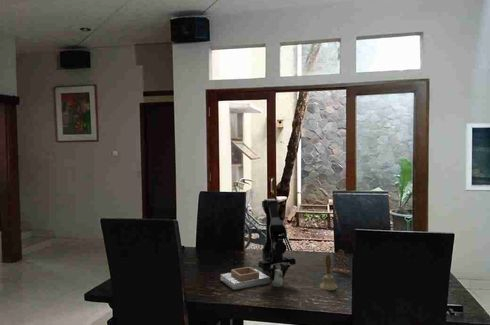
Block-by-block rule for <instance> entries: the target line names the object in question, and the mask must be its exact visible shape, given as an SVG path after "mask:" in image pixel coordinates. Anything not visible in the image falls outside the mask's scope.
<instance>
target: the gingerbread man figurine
mask: <svg viewBox="0 0 490 325" xmlns="http://www.w3.org/2000/svg"><path fill="white" fill-rule="evenodd" d="M333 257H334V258H335V260H337V264H336V265H335V267H334V268H332V270H331V272H332V273H338V274H345V275H348V274H350V273H351V270H349V269H348V268H347V266H346V265H345V264H349V259H348V257H347V256H345V251H344V250H343V249H339V250H338V251H337V252H334V253H333ZM337 257H338V258H337ZM343 258H345V259H346V260H345V259H343ZM339 264H340V265H339ZM338 265H339V267H338ZM343 266H344V267H343ZM349 272H350V273H349Z"/></svg>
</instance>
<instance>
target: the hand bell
mask: <svg viewBox="0 0 490 325" xmlns="http://www.w3.org/2000/svg"><path fill="white" fill-rule="evenodd" d="M331 266H332V259H331V256H330V254H327V255H326V257H325V267H326V275H324V276H323V281H322V283H321V284H320V286H319V288H320V289H322V290H324V291H336V290H338V285H337V284H336V282H335V279H334V276H333V275H331ZM335 289H336V290H335Z"/></svg>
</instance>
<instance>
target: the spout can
mask: <svg viewBox="0 0 490 325" xmlns="http://www.w3.org/2000/svg"><path fill="white" fill-rule="evenodd" d="M282 277H283V275H282V270H281V269H278V268H277V269H275V273H274V281H272V280H271V281H272V286H273V287H275V288H276V287H277V288H279V287H282V286H284V285H283V279H282Z"/></svg>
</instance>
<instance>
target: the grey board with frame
mask: <svg viewBox="0 0 490 325" xmlns="http://www.w3.org/2000/svg"><path fill="white" fill-rule="evenodd" d="M220 281H221V282H223V283H224V284H225V285H226V286H228V287H229V288H231V289H232V290H233V291H234V290H240V289H247V288H250V287H251V288H252V287H256V286H262V285H267V284H270V283H271V276H270V275H269V276H268V275H267V274H265V273H263V272H262V271H260V270H258V269H257V268H253V267H251V266H245V267H239V268H233V269H231V270H230V272H227V273H226V272H225V273H221V274H220Z"/></svg>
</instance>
